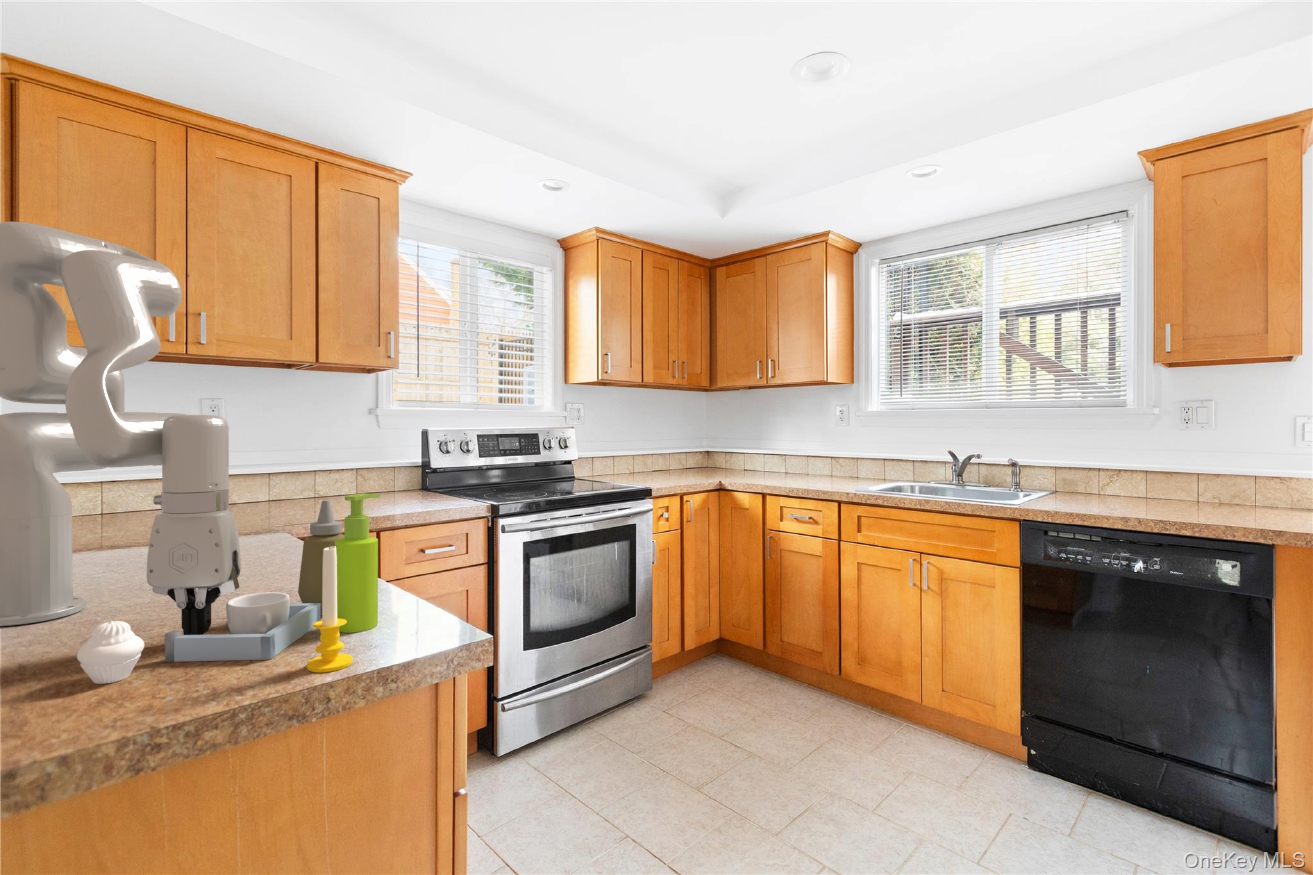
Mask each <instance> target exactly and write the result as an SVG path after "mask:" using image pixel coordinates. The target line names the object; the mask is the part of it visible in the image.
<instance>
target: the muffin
mask: <svg viewBox="0 0 1313 875" xmlns="http://www.w3.org/2000/svg"><path fill="white" fill-rule="evenodd" d="M90 633H91V634H90V635H91V636H90V638H88V639H87V640H86V643H84V645H82V646H81V647H80V648H79V649H78V651H77V654H76V659H77V660H78V662H79V663H80V668H81V669H83V671H84V672H85V673H86V675H87V676H88V677H89V678H90V680H91V681H92V682H93V684H96V685H102V684H103V685H106V684H113V683H116V682H120V681H122V680H125V679H127V678H128V677H129V676H130V675H131V673H132V671H133V669H134V668H135V666H136V665H137V662H138V661H139V660H140V658H141V656H142V652H143V650H144V649H145V641H144V640H143V639H142V638H141V637H139V636H138V635H136V634H135V632H134V631H132V629H131V625H130V624H129V623H127V622H125V621H122V620H120V621H119V620H115V621H113V620H110V621H108V622H103V623H101V624H99V625H97V626H95V628H94V629H93V630H92V631H91V632H90Z"/></svg>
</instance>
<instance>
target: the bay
mask: <svg viewBox="0 0 1313 875" xmlns="http://www.w3.org/2000/svg"><path fill="white" fill-rule="evenodd" d="M321 617H322V615H321V603H302V602H301V603H297V602H296V603H290V606H289V616H288V619H287V620H286V621H284V622H283V623H281V624H280V625H278V626H276V627H275V628H273V629H272V630H270V631H269V632H267V633H266V634H232V633H230V634H229V633H228V634H227V633H225V634H224V633H223V634H203V635H183V634H181V631H180V630H173V631H167V632H166V633H165V634H164V662H165V663H174V662H175V663H176V662H210V661H211V662H215V661H217V662H218V661H219V662H221V661H257V660H258V661H259V660H260V661H262V660H265V661H266V660H272V659H273V658H275V657H276V656H278V654H280V653H281V652H283V651H284V650H286V649H287V648H288V647H289V646H290V645H292V644H293V643H295V642H296V641H297V640H299V639H300V638H302V637H303V636H304V635H306V634H307V633H308V632H310V631H311V630H312V629H314V627H313V624H314V623H316V622H318V621H321V620H322V618H321Z"/></svg>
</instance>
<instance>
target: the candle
mask: <svg viewBox="0 0 1313 875" xmlns="http://www.w3.org/2000/svg"><path fill="white" fill-rule="evenodd" d="M321 617H322V618H321V621H318V622H316V623H314V624H313V627H314V628H315V629H319V632H320V635H319V640H320V644H319V645H317V646H316V647H315V652H316V653H318V654H320V656H316V657H314V658H312V659H310V660H309V661H308V662H307V663H306V670H308V671H309V672H312V673H317V674H319V673H322V674H323V673H332V672H336V671H337V672H338V671H341V670H343V669H346V668H348V667H349V666H351V664H352V663H353V659H354V658H353V656H352V655H351V654H347V653H340V652H339V651H342V650H343V649H344V647H345V643H343V642H342V641H340V636H341V634H340V633H341V632H339V629H340V626H342V625H344V624H346V623H347V621H346V620H345V619H338V618H337V556H336V546H331V547H330V544H329V547H327V548H325V549H324V550H323V585H322V615H321ZM314 628H313V629H314Z"/></svg>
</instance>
